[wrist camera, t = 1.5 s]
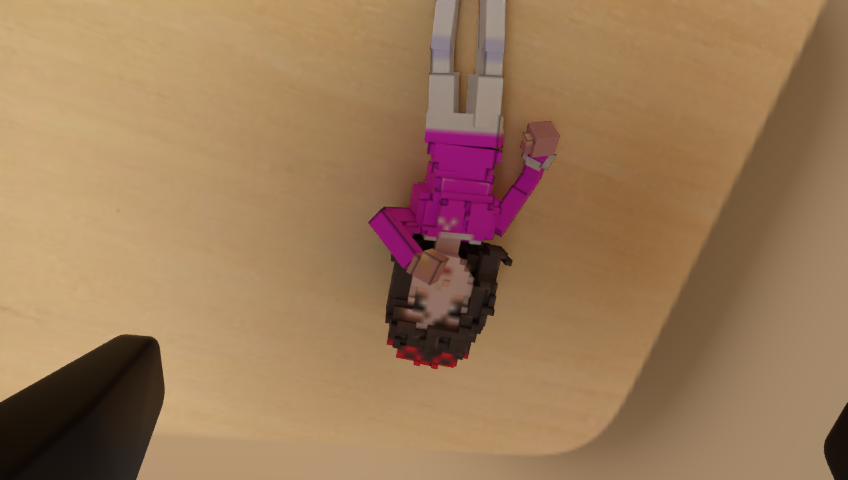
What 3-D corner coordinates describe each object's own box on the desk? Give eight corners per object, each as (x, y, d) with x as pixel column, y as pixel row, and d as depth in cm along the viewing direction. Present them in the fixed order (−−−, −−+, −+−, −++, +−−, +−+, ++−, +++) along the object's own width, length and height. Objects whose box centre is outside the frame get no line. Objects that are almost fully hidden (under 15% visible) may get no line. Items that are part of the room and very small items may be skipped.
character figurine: (381, -38, 18) (360, 327, 21) (385, -85, 13) (358, 401, 16) (561, -19, 19) (517, 333, 22) (630, -58, 14) (561, 406, 17)
